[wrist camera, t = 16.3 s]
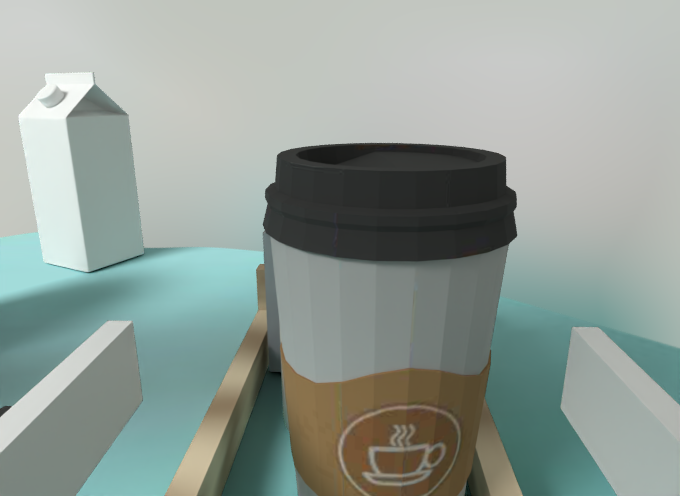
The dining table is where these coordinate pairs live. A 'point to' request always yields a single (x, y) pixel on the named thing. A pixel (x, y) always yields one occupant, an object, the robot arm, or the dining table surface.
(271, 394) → the dining table surface
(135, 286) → the dining table surface
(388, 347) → the coffee cup
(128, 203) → the milk carton
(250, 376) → the lane
